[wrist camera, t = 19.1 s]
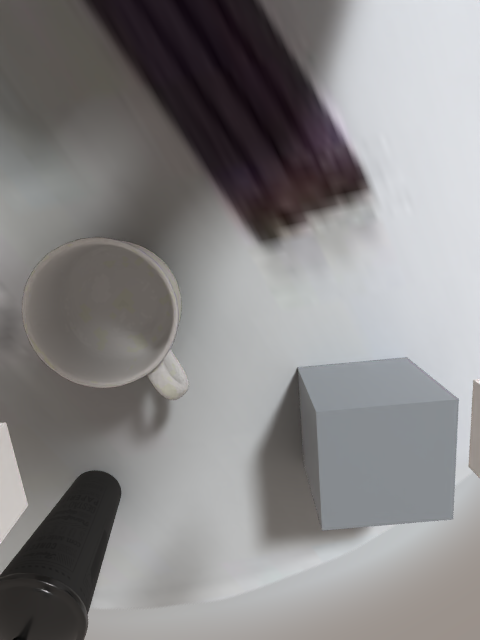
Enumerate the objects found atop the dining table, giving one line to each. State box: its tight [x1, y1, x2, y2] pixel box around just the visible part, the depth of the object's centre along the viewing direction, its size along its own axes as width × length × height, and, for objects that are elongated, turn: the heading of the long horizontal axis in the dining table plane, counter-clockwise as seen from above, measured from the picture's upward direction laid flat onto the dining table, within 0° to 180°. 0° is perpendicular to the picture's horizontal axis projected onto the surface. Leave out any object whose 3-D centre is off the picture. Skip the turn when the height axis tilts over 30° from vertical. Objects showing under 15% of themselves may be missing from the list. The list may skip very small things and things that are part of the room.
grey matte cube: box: [298, 358, 459, 531], centre depth 34 cm, size 10×10×9 cm
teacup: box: [22, 237, 189, 400], centre depth 32 cm, size 14×11×8 cm
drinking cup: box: [0, 471, 121, 640], centre depth 30 cm, size 8×8×20 cm
